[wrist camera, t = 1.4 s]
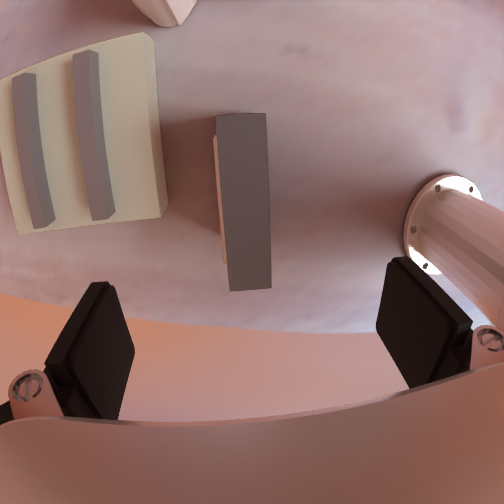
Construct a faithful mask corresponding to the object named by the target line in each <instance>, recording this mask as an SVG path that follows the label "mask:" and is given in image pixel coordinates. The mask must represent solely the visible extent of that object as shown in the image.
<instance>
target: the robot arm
mask: <svg viewBox="0 0 504 504" xmlns="http://www.w3.org/2000/svg"><path fill="white" fill-rule="evenodd" d="M403 240H404V247H405V250H406V253H407V256H405V257H395V258H393V259H392V260H391V262H389V263H388V264H387V269H386V275H385V280H384V286H383V291H382V297H381V302H380V307H379V312H378V316H377V321H376V330H377V333H378V334H379V336H380V338H381V340H382V341H383V343H384V345H385V346H386V348H387V350H388V352H389V353H390V355H391V357H392V358H393V360H394V362H395V364H396V365H397V367H398V369H399V371H400V372H401V374H402V376H403V378H404V379H405V381H406V383H407V385H408V387H409V388H410V389H408V390H404V391H401V392H397V393H393V394H390V395H386V396H381V397H377V398H374V399H369V400H365V401H360V402H355V403H351V404H345V405H341V406H335V407H330V408H325V409H319V410H312V411H306V412H300V413H293V414H285V415H277V416H268V417H259V418H248V419H235V420H221V421H197V422H196V421H195V422H152V421H124V420H118V416H119V412H120V408H121V403H122V400H123V396H124V392H125V388H126V384H127V381H128V377H129V373H130V369H131V366H132V362H133V359H134V354H135V349H134V345H133V342H132V339H131V336H130V333H129V330H128V327H127V324H126V321H125V318H124V315H123V312H122V309H121V306H120V303H119V299H118V296H117V293H116V289H115V287H114V286H113V285H110V284H109V282H107V281H106V282H92V283H91V284H90V286H89V287H88V289H87V290H86V292H85V293H84V295H83V297H82V298H81V300H80V301H79V303H78V305H77V306H76V308H75V310H74V312H73V313H72V315H71V316H70V318H69V320H68V322H67V323H66V325H65V327H64V328H63V330H62V332H61V333H60V335H59V337H58V339H57V341H56V342H55V344H54V346H53V348H52V350H51V351H50V353H49V355H48V357H47V359H46V361H45V363H44V364H45V365H46V368H45V369H44V371H43V372H42V371H40V370H36V369H34V370H28V371H25V372H23V373H21V374H19V375H18V376H17V377H16V378H15V379H14V380H13V381H12V383H11V384H10V386H9V390H8V396H9V401H8V402H6V403H4V404H2V405H0V504H504V212H503V211H501V210H500V209H498V208H496V207H494V206H492V205H490V204H488V203H486V202H484V201H482V197H481V195H480V192H479V190H478V189H477V188H476V186H475V185H474V184H473V183H472V182H471V181H470V180H468V179H466V178H464V177H462V176H459V175H456V174H446V175H441V176H439V177H437V178H434V179H433V180H431V181H430V182H429V183H427V184H426V185H425V186H424V187H423V188H422V189H421V190H420V191H419V192H418V194H417V195H416V197H415V198H414V200H413V202H412V204H411V206H410V208H409V210H408V213H407V216H406V219H405V224H404V233H403ZM428 274H433V275H438V274H443V275H444V276H445V277H446V278H448V279H449V280H450V281H451V282H452V283H453V284H454V285H455V286H456V287H457V288H458V289H459V290H460V291H461V292H462V293H463V294H464V295H465V296H466V297H467V298H468V299H469V300H470V301H471V302H472V303H473V304H474V305H475V306H476V307H477V308H478V309H479V310H480V311H481V312H482V313H483V314H484V315H485V316H486V317H487V318H488V319H489V321H490V322H491V323H492V324H493V325H494V326H495V327H493V326H488V325H483V326H479V327H477V328H476V329H475V330H474V332H473V330H472V329H471V325H472V323H473V321H472V320H471V319H470V317H469V316H468V315H467V314H466V313H465V312H464V311H463V310H462V309H461V308H460V307H459V306H458V305H457V304H456V303H455V302H454V300H453V299H452V298H451V297H450V296H449V295H448V294H447V293H446V292H445V291H444V290H443V289H442V288H441V287H440V286H439V285H438V284H437V283H436V282H435V281H434V280H433V279H432V278H431V277H430V276H429V275H428Z"/></svg>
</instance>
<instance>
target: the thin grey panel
mask: <svg viewBox="0 0 504 504" xmlns="http://www.w3.org/2000/svg"><path fill="white" fill-rule="evenodd" d="M215 120H216V135H215V136H214V138H213V145H214V158H215V171H216V183H217V195H218V207H219V218H220V229H221V240H222V250H223V260H224V264H225V263H227V267H228V278H229V288H230V291H243V290H255V289H267V288H272V282H271V241H270V208H269V178H268V152H267V128H266V114H264V113H247V114H230V115H219V116H215Z"/></svg>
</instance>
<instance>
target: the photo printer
mask: <svg viewBox="0 0 504 504" xmlns="http://www.w3.org/2000/svg"><path fill="white" fill-rule="evenodd" d="M131 1H132V2H133V3H134V4H135V5H136V6H137V7H138V8H139V10H140V11H141V12H142V13H143V14H144V15H145V16H146V17H150V19H151V20H152V21H153V22H154V23H155V24H157V25H159V26H163V27H172V26H176V25H181V24H182V23H183V21H184V20H185V19H186V18H187V16H188V15H189V13H190V12H191V10H192V8H193V7H194V5H195V3H196V2H197V0H131Z"/></svg>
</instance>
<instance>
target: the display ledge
mask: <svg viewBox="0 0 504 504" xmlns="http://www.w3.org/2000/svg"><path fill="white" fill-rule="evenodd" d="M0 152H1V159H2V165H3V171H4V176H5V182H6V187H7V192H8V196H9V201H10V205H11V209H12V213H13V217H14V221H15V225H16V229H17V232H18V235H24V234H31V233H38V232H45V231H52V230H59V229H67V228H74V227H82V226H90V225H99V224H107V223H116V222H125V221H134V220H143V219H153V218H161V217H162V215H163V213H164V211H165V210H166V208H167V206H168V205H169V201H168V194H167V186H166V178H165V170H164V161H163V152H162V142H161V131H160V120H159V108H158V94H157V79H156V60H155V41H154V40H153V39H152V38H151V37H149V36H148V35H147V34H146V33H145V32H140V33H135V34H130V35H126V36H122V37H117V38H113V39H109V40H106V41H102V42H98V43H95V44H91V45H88V46H85V47H81V48H78V49H75V50H72V51H69V52H66V53H63V54H60V55H58V56H55V57H52V58H49V59H47V60H44V61H42V62H39V63H37V64H34V65H32V66H29V67H27V68H25V69H22V70H20V71H18V72H16V73H13V74H11V75H9V76H7V77H5V78H3V79H1V80H0Z"/></svg>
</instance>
